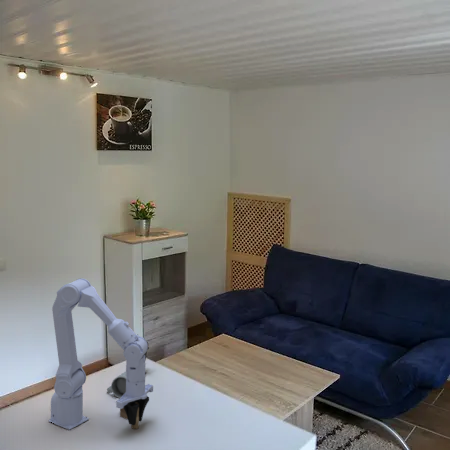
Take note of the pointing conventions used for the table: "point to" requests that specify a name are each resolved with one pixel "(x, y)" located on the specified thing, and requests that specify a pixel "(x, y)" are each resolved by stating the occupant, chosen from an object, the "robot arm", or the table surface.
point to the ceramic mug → (118, 386)
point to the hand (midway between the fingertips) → (135, 422)
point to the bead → (123, 413)
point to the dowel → (136, 420)
